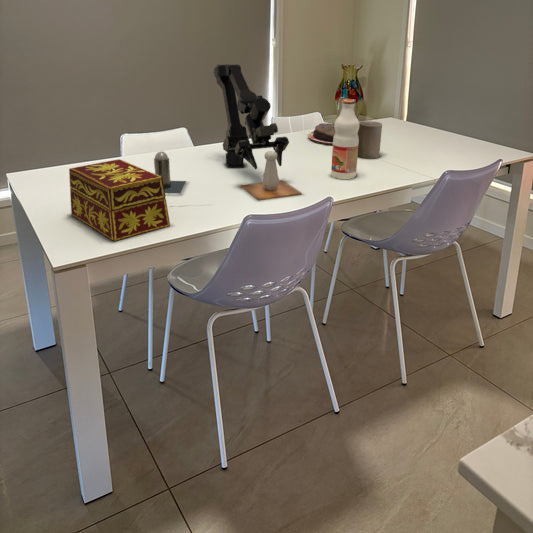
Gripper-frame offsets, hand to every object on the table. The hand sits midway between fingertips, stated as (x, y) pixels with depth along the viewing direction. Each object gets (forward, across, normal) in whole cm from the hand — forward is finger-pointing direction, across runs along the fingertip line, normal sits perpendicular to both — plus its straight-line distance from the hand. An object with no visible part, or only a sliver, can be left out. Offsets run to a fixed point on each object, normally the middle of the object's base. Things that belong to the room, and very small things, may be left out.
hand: (268, 167), depth 204 cm
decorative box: (+14, -54, -2) cm, 56 cm away
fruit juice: (+3, +33, +8) cm, 34 cm away
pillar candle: (-12, +57, +24) cm, 63 cm away
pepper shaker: (-5, -34, +15) cm, 38 cm away
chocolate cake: (-34, +60, +46) cm, 83 cm away
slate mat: (-4, -34, +16) cm, 38 cm away
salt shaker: (+6, 0, +4) cm, 8 cm away
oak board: (+7, 0, +4) cm, 8 cm away
